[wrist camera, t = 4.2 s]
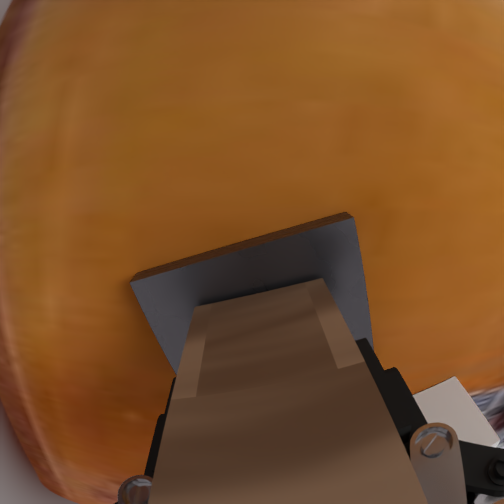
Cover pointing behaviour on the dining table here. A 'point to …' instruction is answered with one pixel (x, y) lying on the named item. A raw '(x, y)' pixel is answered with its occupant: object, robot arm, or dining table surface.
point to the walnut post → (278, 410)
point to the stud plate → (257, 278)
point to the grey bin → (456, 412)
